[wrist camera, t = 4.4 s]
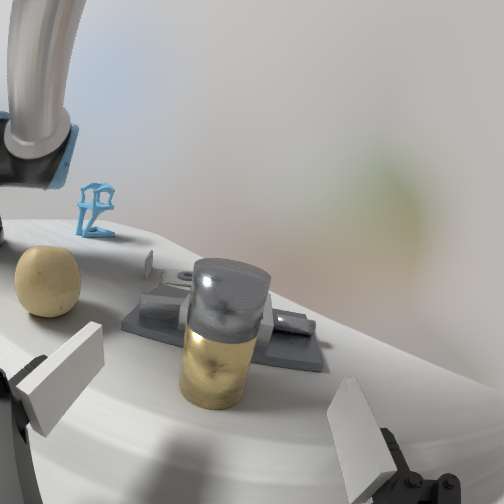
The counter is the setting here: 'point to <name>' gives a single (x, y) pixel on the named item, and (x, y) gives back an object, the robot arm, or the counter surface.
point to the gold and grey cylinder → (221, 331)
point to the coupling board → (268, 339)
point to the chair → (94, 210)
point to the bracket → (169, 274)
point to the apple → (47, 281)
